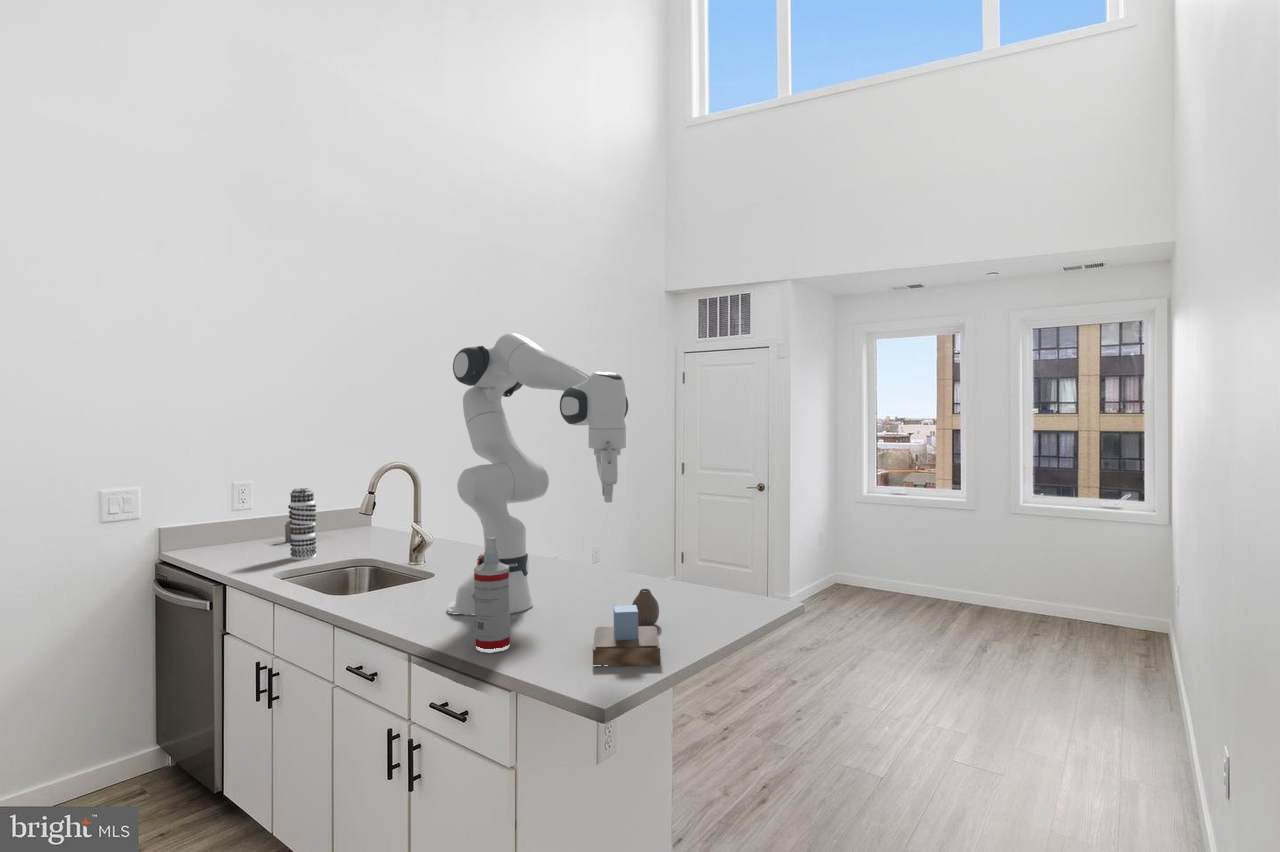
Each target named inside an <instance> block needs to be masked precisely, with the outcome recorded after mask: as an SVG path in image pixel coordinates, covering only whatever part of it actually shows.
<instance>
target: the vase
mask: <svg viewBox="0 0 1280 852" xmlns="http://www.w3.org/2000/svg"><path fill="white" fill-rule="evenodd" d="M631 605H636V606H637V609H638V626H655V625H656V623H657V622H658V619H659V616H660V606H659V603H658V600H657V599H656V598H655V596H654V595H653V594H652V592H651V590H650V589H649V588H641V589H640V590H639V592H638V594H637V595H636V596H635V598H634V599H633V601H632V604H631Z"/></svg>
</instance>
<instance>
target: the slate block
mask: <svg viewBox="0 0 1280 852" xmlns="http://www.w3.org/2000/svg"><path fill="white" fill-rule="evenodd" d="M613 627H614V636H615V640H631V639H638V609H637V606H636V605H632V604H629V605H624V604H623V605H613Z"/></svg>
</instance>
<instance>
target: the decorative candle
mask: <svg viewBox="0 0 1280 852" xmlns="http://www.w3.org/2000/svg"><path fill="white" fill-rule="evenodd" d="M314 493H315V492H314V491H313V490H312V489H311V488H310V487H309V488H308V487H298V488H294V489H293V490H291V492H290V493H289V495H290V502H289V503H290V504H289V505H288V506H287V507H288V509H289V511H288V514H289V515H288V518H289V519H290V520H288V521H289V522H290V524H291V525H290V527H292V529H291V531H292V533H291V538H292V539H290V541H291V542H290V543H289V544H290V559H291V560H292V561H294V560H295V561H301V560H302V561H304V560H310V559H314V558H316V557H317V555H316V554H317V550H316V549H317V546H316V543H317V541H315V540H316V539H317V537H316V531H315V532H314V525H315V526H316V521H317V519H316V518H315V517H316V516H317V515H316V514H315V513H314V512H316V511H317V509H316V507H317V505H316V504H315V500H314ZM314 521H315V523H314Z"/></svg>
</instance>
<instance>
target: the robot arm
mask: <svg viewBox="0 0 1280 852" xmlns="http://www.w3.org/2000/svg"><path fill="white" fill-rule="evenodd" d="M452 371H453V375H454V378H455V379H456V380H457V381H458V382H459V383H461V384H463V385H465V386H468V387H470V388H468V389H467V390H466V391H465V392H464V394H463V396H462V408H463V410H462V411H463V415H464V416H463V417H464V422H465V425H466V429H467V433H468V436H469V437H468V438H469V440H470V443H471V447H472V450H473V452H474V453H475V454H476V455H477V456H478V457H480V458H481V459H484V460H487V461H489V462H490V463H488V464H479V465H475V466H471V467H468V468H465V469H464V470H462V472H461V473H460V475H459V478H458V481H457V484H456V485H457V488H456V489H457V493H458V496H459V498H460V499H461V501H463V503H465V504H466V505H467V506H469V507H470V508H471V509H472V510H473V511H474V512H475V513H476V514H477V517H478V518H479V520H480V523H481V526H482V530H483V542H484V544H483V545H484V550H485V549H486V538H492V537H496V545H497V549H498V551H499V562H500V563H503V564H505V565H509V596H510V613H511V614H516V613H520V612H523V611H526V610H529V609H531V608H532V607H533V606H534V604H533V600H532V597H531V591H530V586H529V580H528V574H529V554H528V553H527V529H526V526H525V524H524V523H523V522H522V521H521V520H520V519H519V518H516V517H514V516H512V515H510V513H509V510H508V504H516V503H525V502H531V501H534V500H537V499H540V498H542V497H543V496H545V494H546V492H547V490H548V488H549V484H550V478H549V474H548V472H547V470H546V469H545V467H544V466H543V465H542V464H541V463H538V462H537V461H536V460H533V459H532V458H530V457H529V456H528V455H527V454H525V453H526V452H524V451H523V450H522V449H521V448H520V446H519V445H518V443H517V442H516V441H515V438H514V437H513V434H512V431H511V428H510V426H509V422H508V420H507V417H506V413H505V412H504V411H505V410H504V408H503V404H502V397H505V398H510V397H512V395H513V394H514V393H515V392H517V391H518V390H519V389H521V388H522V387H523V386H525V387H528V388H531V389H535V390H536V389H538V390H552V391H561V392H562V391H563V393H562V394H561V397H560V399H559V411H560V415H561V417H562V419H563V420H564V422H566V423H567V424H568V425H572V426H573V425H574V426H588V448H589V449H592V450H593V455H594V456H595V460H596V461H595V462H596V468H597V474H598V476H599V479H600V482H601V489H602V496H603V500H604V502H605V503H612V502H613V493H614V485H617V484H618V475H619V474H618V473H619V472H618V456H621V450H623V449H626V447H627V432H626V431H627V425H626V421H625V418H626V417H627V414H628V411H629V400H628V397H627V393H626V386H625V381H624V379H623V377H622V375H620V374H618V373H615V372H609V371H595V372H592V373H591V374H590V375H589V374H587V373H585V372H583V371H582V370H580V369H578V368H575V367H574V366H572V365H570V364H569V363H567V362H566V361H564V360H562V359H560V358H558V357H557V356H555V355H553V354H552V353H550V352H549V351H547V350H546V349H544V348H543V347H541V346H540V345H539V344H537V343H536V342H534V341H533V340H531V339H529V338H528V337H525V336H523V335H522V334H518V333H515V332H514V333H513V332H509V333H505V334H504V335H501V336H500V337H499V338H498V339H497V341H496V342H495V344H494V346H493V347H491V348H486V347H485V346H484V345H479V346H469V347H464V348H462V349H460V350H459V351H457V353H456V355H455V357H454V358H453V361H452ZM483 563H484V553H480V554H479V555H478V557H477V559H476V565H477V566H479V565H481V564H483ZM455 596H456V597H455V599H454V600H452V601H451V602H450V603H449V604H448V605H447V610H448V611H449V612H450V613H459V614H475V590H474V572H472V573H471V574H470V575H469V576H468V577H467V578H465V580H463V581H462V582H461V583H460V584H459V586H458V589H457V591H456V595H455ZM515 612H516V613H515Z"/></svg>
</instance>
